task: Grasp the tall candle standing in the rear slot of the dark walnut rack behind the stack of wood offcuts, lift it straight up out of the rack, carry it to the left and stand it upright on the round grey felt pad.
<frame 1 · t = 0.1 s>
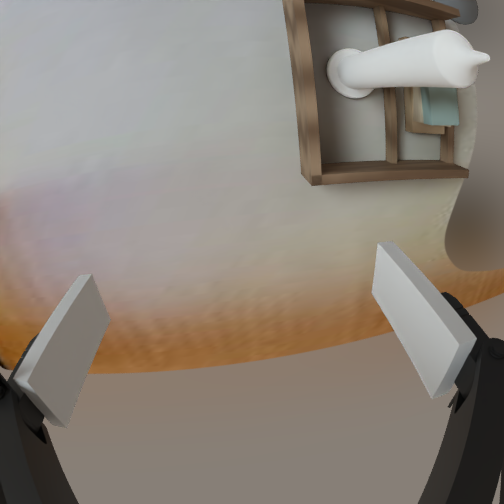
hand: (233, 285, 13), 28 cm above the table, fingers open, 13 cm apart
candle: (351, 73, 33), resting in rack
rack: (378, 81, 33), on the table
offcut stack: (420, 85, 33), resting in rack
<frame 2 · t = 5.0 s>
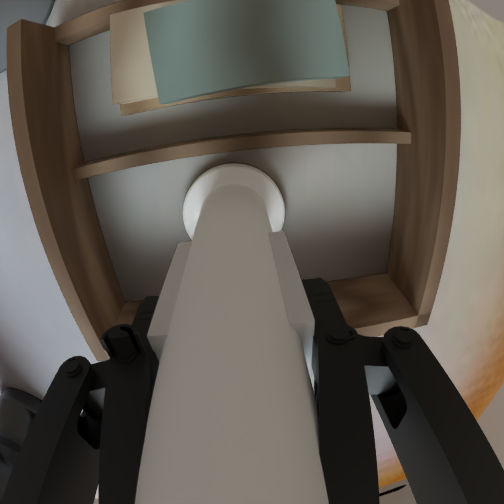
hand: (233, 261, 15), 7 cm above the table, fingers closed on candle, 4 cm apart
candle: (233, 211, 21), resting in rack, touching gripper
rack: (241, 154, 19), on the table
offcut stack: (230, 53, 16), resting in rack
pad: (6, 16, 11), on the table
when the fingers open (9 cm above the table, at t = 13.6 s): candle stays where it is, resting on pad.
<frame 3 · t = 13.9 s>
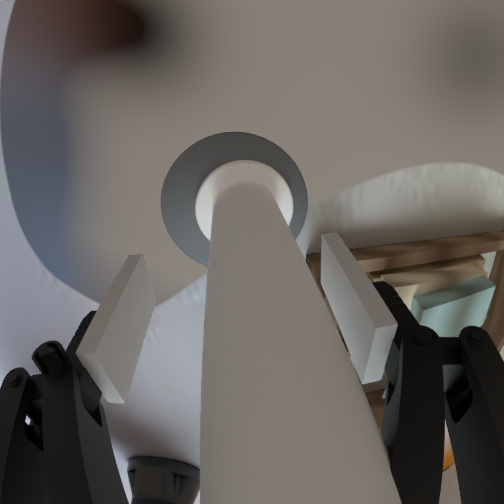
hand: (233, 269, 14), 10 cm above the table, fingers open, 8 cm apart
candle: (243, 205, 22), point 1 cm above the table, touching pad
rack: (409, 333, 31), on the table
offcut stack: (422, 283, 27), resting in rack
pad: (234, 204, 23), on the table
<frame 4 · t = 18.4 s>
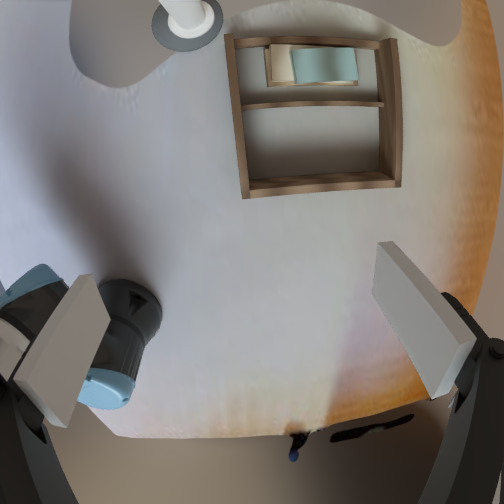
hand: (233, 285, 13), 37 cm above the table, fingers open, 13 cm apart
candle: (191, 19, 34), resting on pad
rack: (313, 109, 43), on the table
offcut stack: (310, 67, 40), resting in rack
pad: (187, 20, 35), on the table
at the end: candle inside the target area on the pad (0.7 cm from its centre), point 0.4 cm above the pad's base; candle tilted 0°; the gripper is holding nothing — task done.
